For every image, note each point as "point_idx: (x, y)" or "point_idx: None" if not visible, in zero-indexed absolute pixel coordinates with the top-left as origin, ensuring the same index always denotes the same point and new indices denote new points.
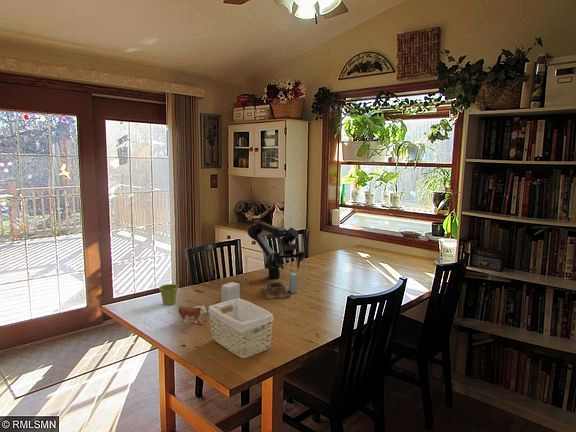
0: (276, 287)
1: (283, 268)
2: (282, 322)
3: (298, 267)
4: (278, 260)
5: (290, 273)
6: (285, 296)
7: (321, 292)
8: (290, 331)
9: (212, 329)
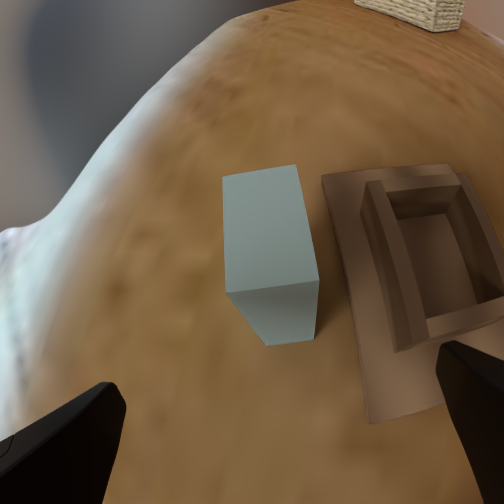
0: (430, 183)
1: (448, 347)
2: (344, 37)
3: (106, 389)
4: None
5: (307, 248)
6: (352, 173)
7: (103, 264)
8: (321, 20)
9: (458, 11)
